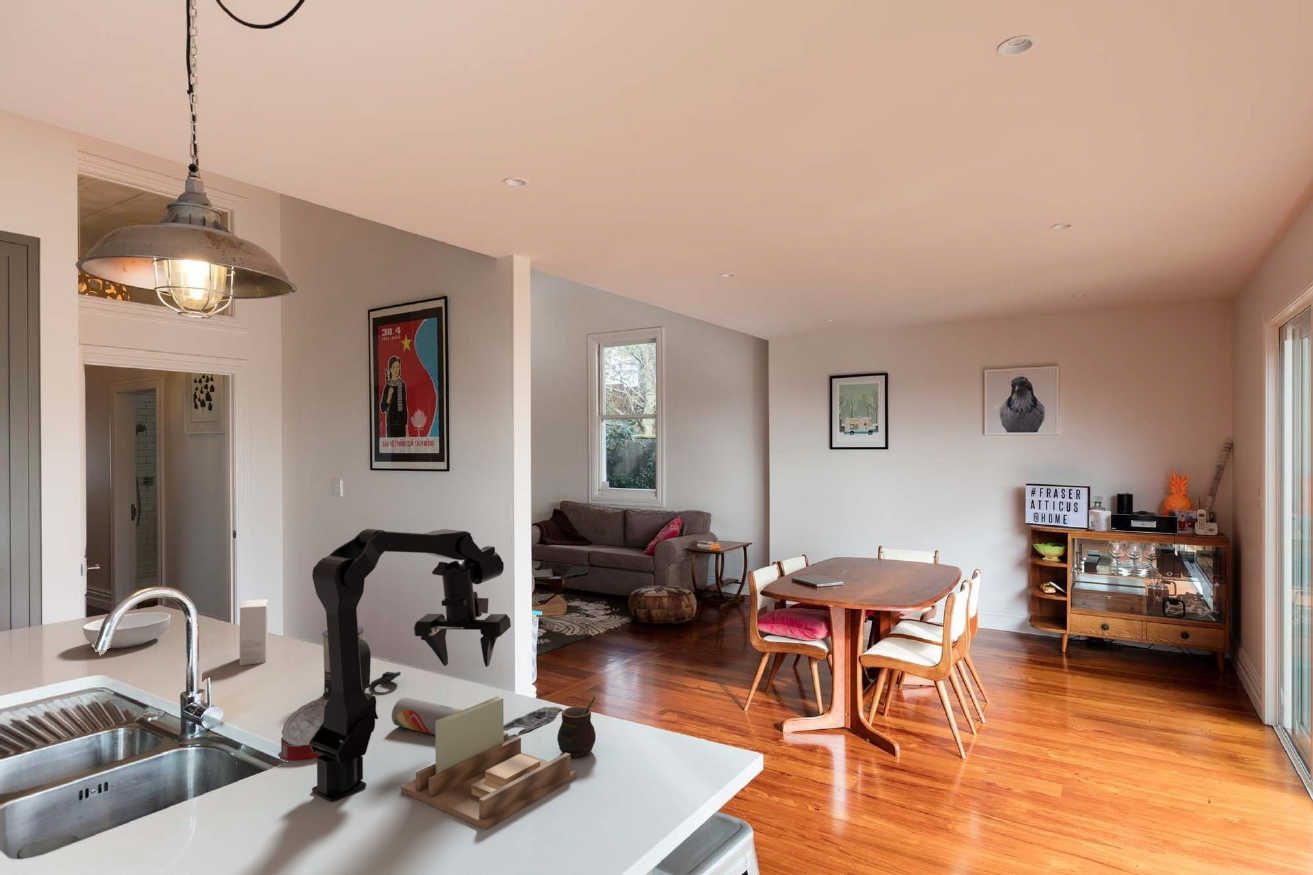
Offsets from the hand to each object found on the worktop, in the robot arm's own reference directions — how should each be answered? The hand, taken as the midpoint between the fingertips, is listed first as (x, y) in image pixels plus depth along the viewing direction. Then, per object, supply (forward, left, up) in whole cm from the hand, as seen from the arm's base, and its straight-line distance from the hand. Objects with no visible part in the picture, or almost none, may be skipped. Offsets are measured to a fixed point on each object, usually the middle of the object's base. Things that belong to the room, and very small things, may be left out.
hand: (466, 665), depth 149 cm
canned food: (-23, +19, -14) cm, 33 cm away
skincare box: (-1, +85, -14) cm, 86 cm away
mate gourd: (+5, -25, -14) cm, 29 cm away
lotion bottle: (-6, +14, -11) cm, 19 cm away
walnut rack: (-13, -21, -14) cm, 28 cm away
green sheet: (-13, -16, -13) cm, 24 cm away
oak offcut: (-12, -25, -11) cm, 30 cm away
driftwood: (+9, -7, -14) cm, 19 cm away
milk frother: (+2, +40, -14) cm, 43 cm away
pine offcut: (-13, -25, -13) cm, 31 cm away
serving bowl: (-14, +132, -14) cm, 134 cm away
